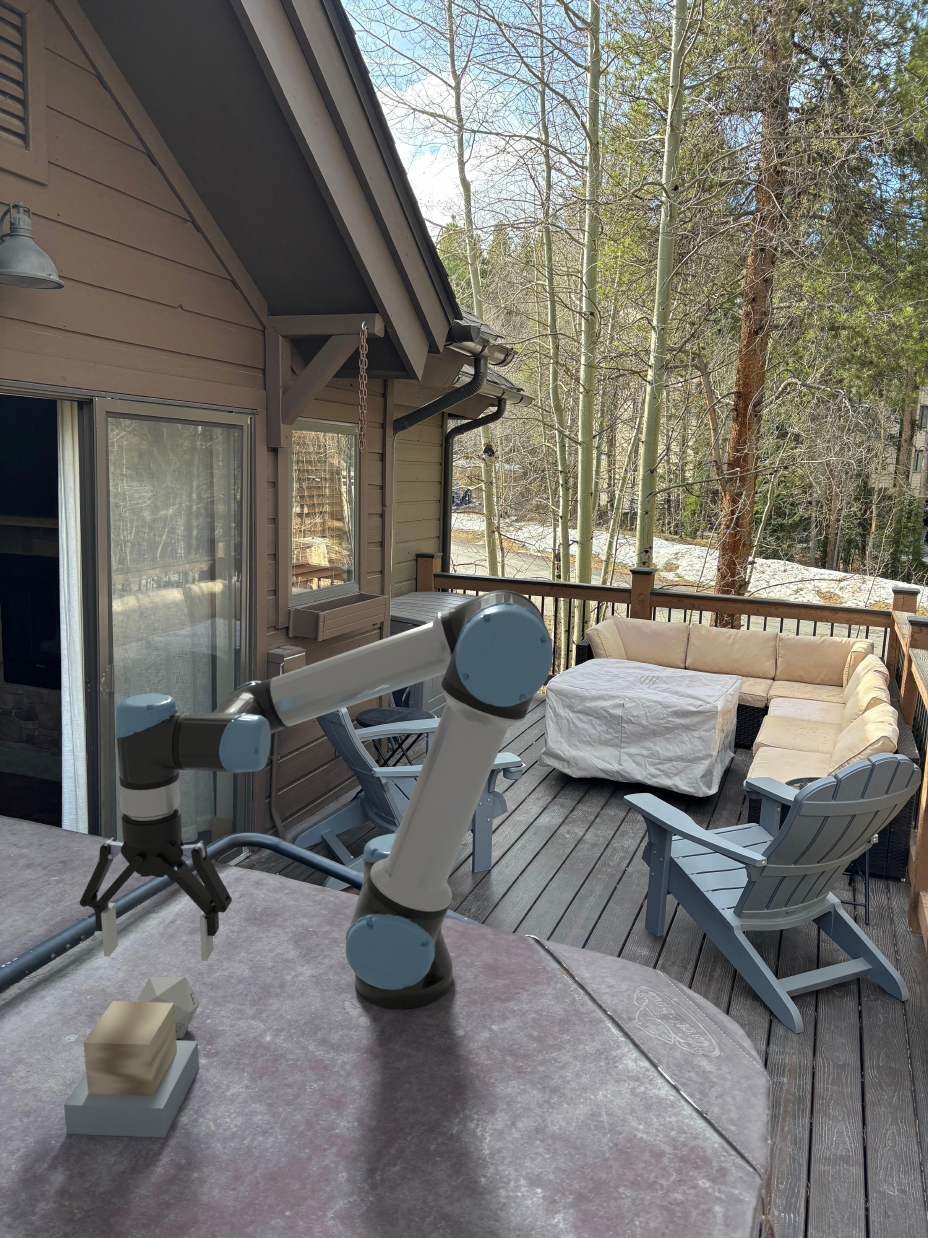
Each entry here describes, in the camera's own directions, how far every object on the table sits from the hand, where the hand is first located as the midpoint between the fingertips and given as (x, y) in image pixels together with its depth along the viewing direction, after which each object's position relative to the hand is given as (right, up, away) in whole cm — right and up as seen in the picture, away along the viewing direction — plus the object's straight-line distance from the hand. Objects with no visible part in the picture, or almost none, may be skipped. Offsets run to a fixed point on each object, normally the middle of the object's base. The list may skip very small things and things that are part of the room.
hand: (159, 953), depth 121 cm
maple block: (+1, -11, -11) cm, 15 cm away
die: (0, -12, +2) cm, 12 cm away
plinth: (+1, -14, -10) cm, 18 cm away
